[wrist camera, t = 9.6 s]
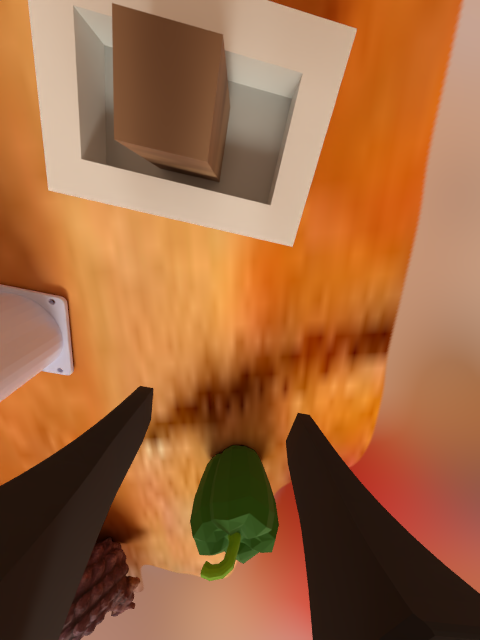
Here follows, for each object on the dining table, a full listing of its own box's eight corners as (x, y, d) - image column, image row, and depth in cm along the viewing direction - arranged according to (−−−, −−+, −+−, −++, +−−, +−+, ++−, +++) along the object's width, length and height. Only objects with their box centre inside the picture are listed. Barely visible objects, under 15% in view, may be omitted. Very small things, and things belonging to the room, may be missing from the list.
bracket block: (160, 168, 15) (114, 139, 10) (164, 90, 14) (111, 2, 8) (219, 182, 15) (207, 161, 10) (230, 107, 14) (223, 34, 8)
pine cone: (31, 536, 35) (-44, 649, 26) (43, 502, 31) (-39, 619, 22) (141, 564, 38) (110, 673, 29) (164, 537, 35) (136, 651, 26)
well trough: (81, 195, 16) (48, 190, 13) (69, -12, 12) (19, -79, 9) (284, 242, 17) (292, 246, 15) (333, 67, 13) (357, 28, 11)
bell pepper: (282, 444, 26) (304, 564, 17) (256, 486, 30) (263, 606, 20) (212, 427, 25) (196, 544, 16) (193, 472, 28) (171, 592, 19)
